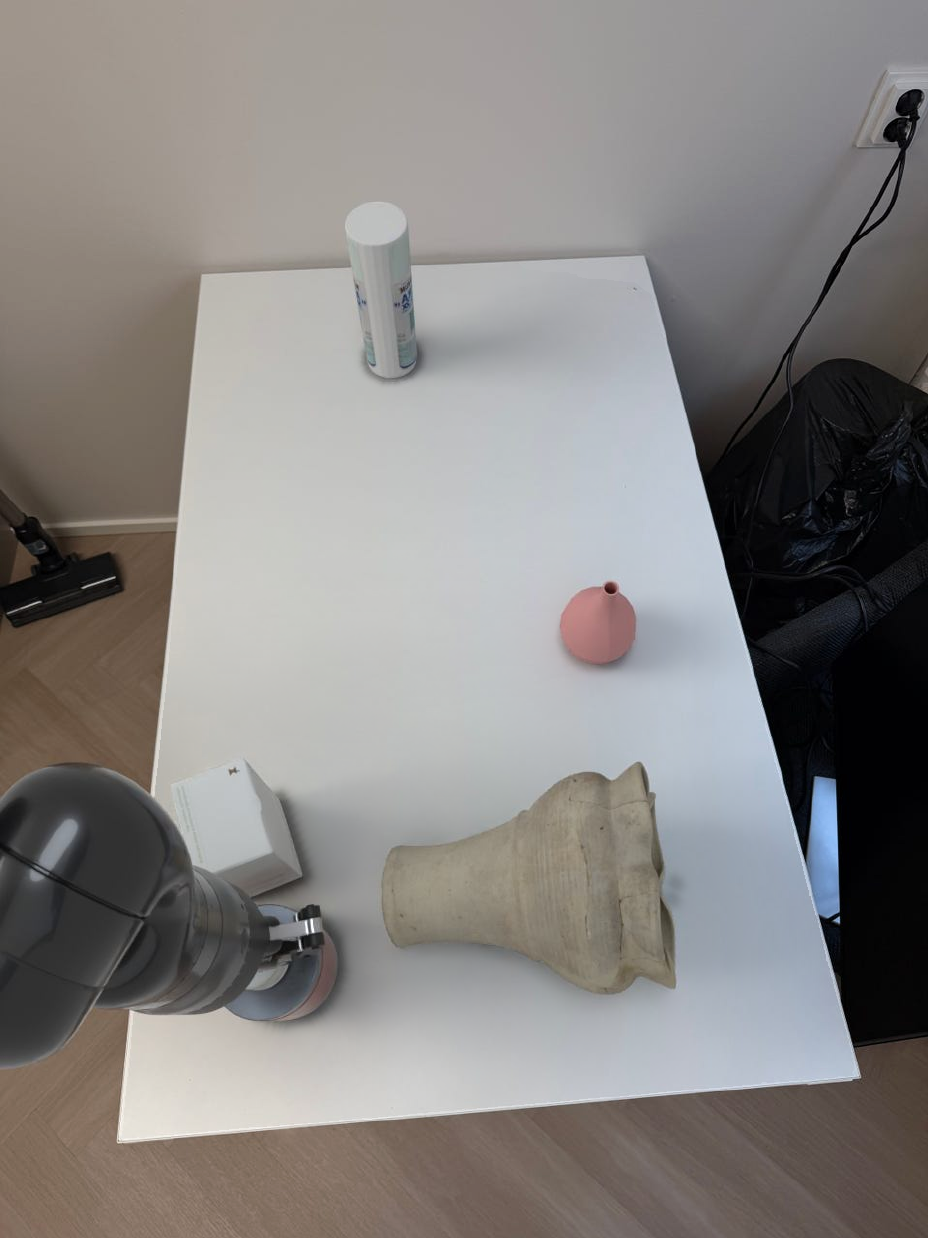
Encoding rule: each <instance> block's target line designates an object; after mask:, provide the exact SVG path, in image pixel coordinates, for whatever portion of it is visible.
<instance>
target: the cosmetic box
mask: <svg viewBox="0 0 928 1238" xmlns="http://www.w3.org/2000/svg"><path fill="white" fill-rule="evenodd" d="M169 787H170V791H171V792H170V793H171V796H172V799H173V804H174V808H175V812H176V815H177V820H178V825H179V828H180V832H181V834H182V836H183V838H184V840H185V843H186V845H187V848H188V851H189V854H190V857H191V860H192V865H195V866H198V867H200V868H203V869H206V870H207V871H209V872H211V873H213V874H215V875H217V876H219V877H221V878H222V879H224V880H226V881H228V882H230V883H232V884H233V885H235V886H237V887H239V888H240V889H242V890H243V891H244V892H245V893H246V894H248V895H249V897H250V898H252V897H256V896H257V895H260V894H263V893H265V892H268V891H270V890H273V889H275V888H279V887H280V886H283V885H285V884H287V883H290V882H292V881H296V880H297V879H300V878H302V877H303V872H302V868H301V863H300V860H299V857H298V854H297V850H296V847H295V844H294V841H293V838H292V834H291V831H290V827H289V825H288V821H287V818H286V815H285V812H284V808H283V805H282V803H281V799H279V797H278V796H277V795H276V794H275V793H274V792H273V791H272V789H271V788H270V787H269V786H268V785H267V784H266V782H264V780H263V779H262V777H261V776H260V775H259V774H258V773H257V772H256V771H255V769H254V768H253V767H252V765H250V763H249V762H248V761H247V759H246V758H245V757H244V756H242V757H240V758H237V759H233V760H232V761H229V762H227V763H224V764H221V765H219V766H216V767H214V768H211V769H209V770H205V771H203V772H200V773H198V774H195V775H193V776H190V777H188V778H185V779H183V780H180V781H177V782H174V783H171V784H170V785H169Z"/></svg>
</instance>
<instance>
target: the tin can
mask: <svg viewBox="0 0 928 1238" xmlns="http://www.w3.org/2000/svg"><path fill="white" fill-rule="evenodd" d="M256 906H257V907H258V909H259V910H260V912H261V914H262V915H270V916H273V917H276V918H277V919H278V920H279V922H280V923H283V924H286V923H291V922H293V915H292V914H293V913H294V912H298V911H296V910H294V909H292V908H290V907H288V906H285V905H281V904H275V903H266V904H265V903H263V904H257V905H256ZM323 933H324V940H325V945H324V946H323V947H322V948H321V949H320V950H319V951H318V952H317V953H316V954H315V955H311V957H310V958H307V959H303V957H302V958H298V956H297V957H292V964H289V965H288V968H287V970H286V972H285V974H284V976H283V977H282V978H281V979H280V981H278V982H277V983H276V984H275V985H273V986H272V987H270V988H267V989H264V990H244V991H243V992H242V993H241V994H240V995H239V996H238V997H237V998H236V999H234V1000H233V1001H232V1002H230V1003H229V1004H227V1005H226V1006H224V1007H223V1008H225V1009H226V1010H228V1011H229V1012H230V1013H231V1014H233V1015H235V1016H236V1017H239V1018H240V1019H244V1020H247V1021H251V1022H252V1021H253V1022H281V1021H291V1020H296V1019H300V1018H304V1017H306V1016H308V1015H309V1014H311V1013H313V1012H314V1011H316V1010H317V1009H319V1008H320V1007H321V1005H322V1004H323V1003H324V1002H325V1001H326V1000H327V999H328V997H329V996H330V994H331V992H332V991H333V988H334V986H335V984H336V981H337V978H338V977H337V976H338V972H339V956H338V952H337V948H336V946H335V943H334V941H333V939H332V937H331V936H330V934H329V933H328V932H327V931H326V929H324V928H323Z"/></svg>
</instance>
